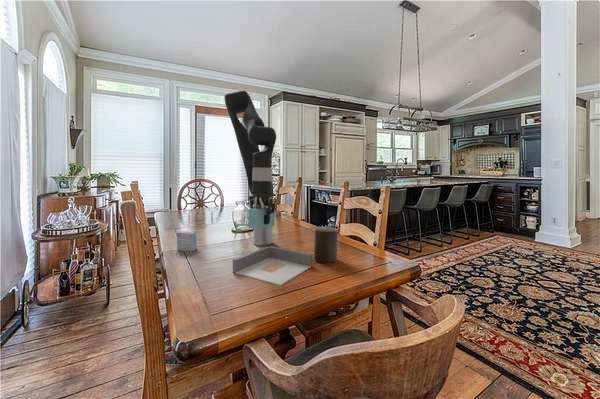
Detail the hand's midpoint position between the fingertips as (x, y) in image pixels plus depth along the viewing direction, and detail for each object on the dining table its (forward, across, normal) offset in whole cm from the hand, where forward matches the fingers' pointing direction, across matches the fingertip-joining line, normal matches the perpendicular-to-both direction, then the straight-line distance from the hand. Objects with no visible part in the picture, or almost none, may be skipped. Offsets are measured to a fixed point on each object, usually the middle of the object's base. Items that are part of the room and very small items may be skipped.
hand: (262, 223), depth 109 cm
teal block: (+1, 0, 0) cm, 1 cm away
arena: (+18, +5, +2) cm, 19 cm away
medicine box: (+18, -44, -10) cm, 48 cm away
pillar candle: (+18, +13, +25) cm, 33 cm away
